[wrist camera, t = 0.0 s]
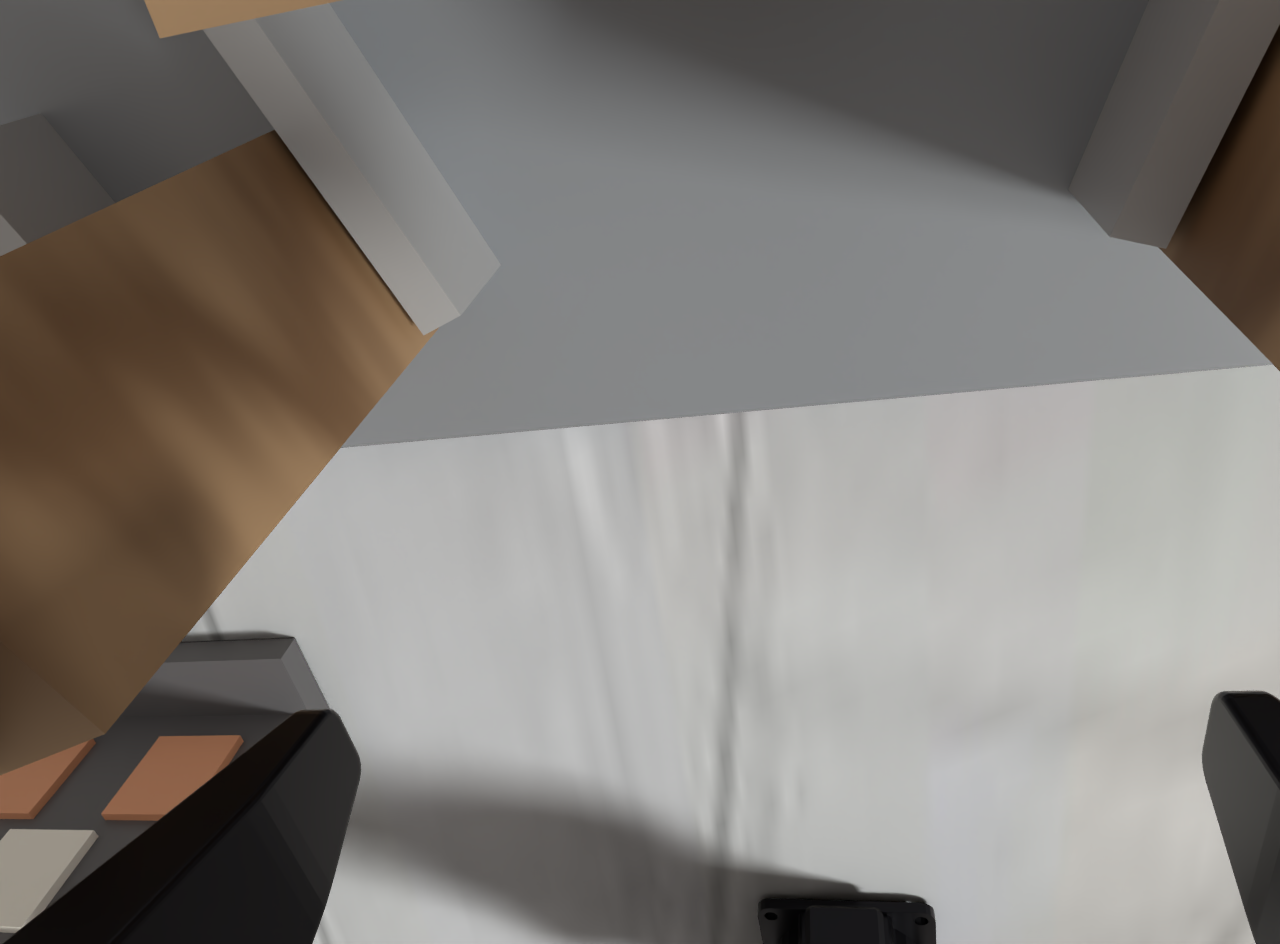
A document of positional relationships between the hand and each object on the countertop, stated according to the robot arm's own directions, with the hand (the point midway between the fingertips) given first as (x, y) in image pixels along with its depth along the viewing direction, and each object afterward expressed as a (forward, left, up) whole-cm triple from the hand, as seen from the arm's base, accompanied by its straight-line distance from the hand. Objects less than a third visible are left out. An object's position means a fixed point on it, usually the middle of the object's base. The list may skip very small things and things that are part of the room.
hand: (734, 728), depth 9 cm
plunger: (+2, +11, -13) cm, 17 cm away
